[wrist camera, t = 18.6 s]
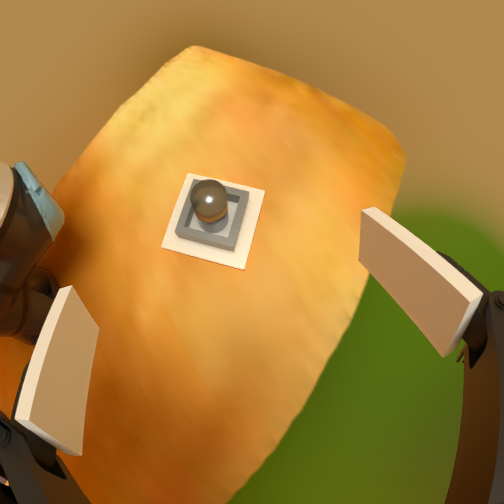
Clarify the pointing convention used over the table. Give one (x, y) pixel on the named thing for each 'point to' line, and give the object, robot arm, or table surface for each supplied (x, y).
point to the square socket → (224, 242)
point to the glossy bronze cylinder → (210, 205)
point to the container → (2, 480)
